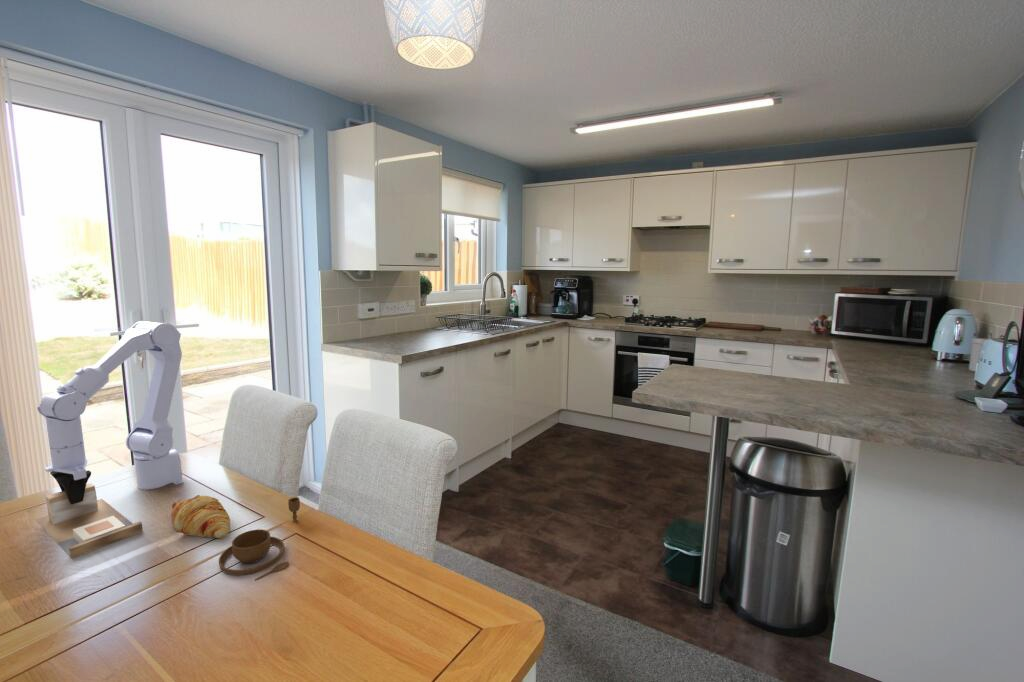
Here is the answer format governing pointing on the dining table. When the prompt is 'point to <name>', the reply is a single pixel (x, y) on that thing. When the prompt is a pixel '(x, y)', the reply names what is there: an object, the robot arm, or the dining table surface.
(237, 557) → the place setting
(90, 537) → the tile
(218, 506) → the croissant
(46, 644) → the dining table surface
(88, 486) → the light wood block
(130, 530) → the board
